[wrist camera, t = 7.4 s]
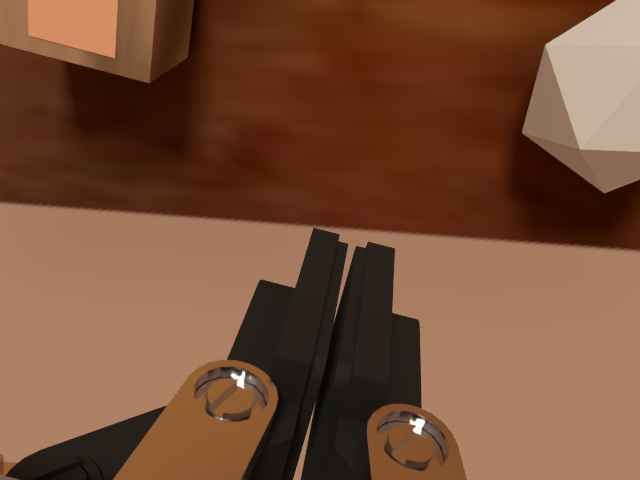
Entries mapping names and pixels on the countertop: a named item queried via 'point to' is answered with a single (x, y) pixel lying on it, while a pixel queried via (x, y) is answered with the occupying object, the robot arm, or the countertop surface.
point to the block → (102, 33)
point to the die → (592, 97)
